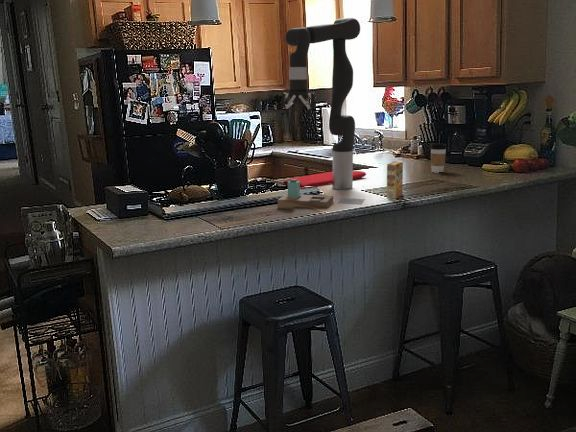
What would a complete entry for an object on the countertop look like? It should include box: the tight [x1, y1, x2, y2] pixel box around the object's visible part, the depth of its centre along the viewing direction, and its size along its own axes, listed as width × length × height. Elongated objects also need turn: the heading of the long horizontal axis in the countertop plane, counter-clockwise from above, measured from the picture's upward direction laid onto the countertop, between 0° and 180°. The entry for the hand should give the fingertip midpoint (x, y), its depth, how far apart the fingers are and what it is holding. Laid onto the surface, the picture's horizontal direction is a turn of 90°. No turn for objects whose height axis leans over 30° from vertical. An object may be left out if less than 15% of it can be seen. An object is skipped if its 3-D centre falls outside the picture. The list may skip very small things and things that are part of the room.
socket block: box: [277, 193, 334, 210], centre depth 258 cm, size 12×20×4 cm, turn 74°
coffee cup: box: [430, 142, 448, 174], centre depth 331 cm, size 8×8×15 cm
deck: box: [336, 197, 366, 205], centre depth 262 cm, size 10×10×1 cm
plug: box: [287, 179, 301, 199], centre depth 258 cm, size 4×4×11 cm
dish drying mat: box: [282, 169, 367, 187], centre depth 311 cm, size 16×41×4 cm, turn 127°
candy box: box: [386, 161, 404, 199], centre depth 269 cm, size 9×4×15 cm, turn 150°
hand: (298, 117), depth 267 cm, fingers open, 8 cm apart
